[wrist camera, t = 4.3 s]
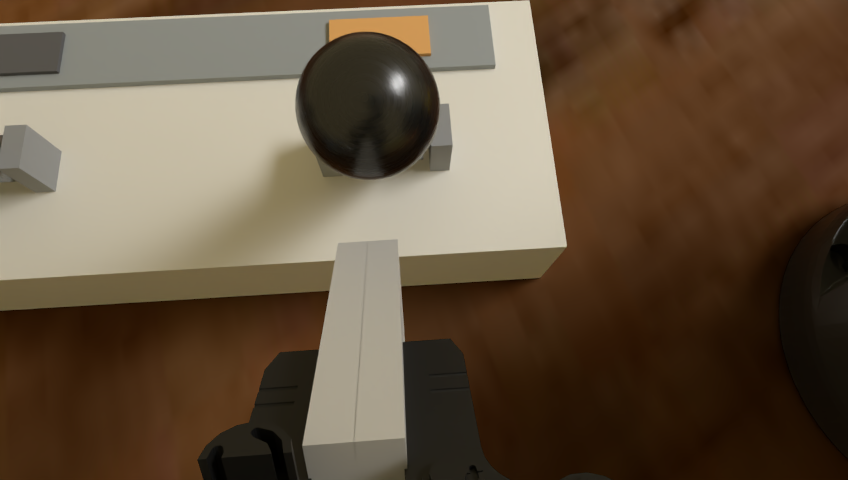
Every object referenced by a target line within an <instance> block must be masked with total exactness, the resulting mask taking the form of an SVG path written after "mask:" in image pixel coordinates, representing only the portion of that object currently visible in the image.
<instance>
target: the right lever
mask: <svg viewBox="0 0 848 480" xmlns="http://www.w3.org/2000/svg"><path fill="white" fill-rule="evenodd" d="M295 112H296V119H297V123H298V127H299V130H300V132H301V135H302V137H303V139H304V141H305V143H306V144H307V146H308V148H309V149H310V150H311V151H312V153H313V154H314V155H315V156H316V157H317V158H318V159H319V160H320V161H321V162H322V163H323V164H325V165H326V166H327V167H329V168H330V169H332V170H334V171H335V172H337V173H339V174H342V175H344V176H347V177H350V178H354V179H360V180H378V179H384V178H388V177H392V176H394V175H397V174H399V173H401V172H403V171H405V170H407V169H408V168H410V167H411V166H412V165H414V164H415V163H416V162H417V161H418V160H423V155H424V153H425V152H426V151H427V149H428V148H429V146H430V144H431V143H432V141H433V139H434V136H435V134H436V131H437V127H438V124H439V117H440V98H439V91H438V87H437V84H436V81H435V79H434V76H433V74H432V72H431V70H430V68H429V67H428V65H427V64H426V62H425V61H424V60H423V58H422V57H421V56H420V55H419V54H418V53H417V52H416V51H415V50H413V49H412V48H411V47H410V46H409V45H407V44H405V43H404V42H402V41H401V40H399V39H396V38H394V37H392V36H389V35H386V34H382V33H377V32H354V33H350V34H346V35H343V36H340V37H338V38H335V39H334V40H332V41H330V42H328V43H327V44H325V45H324V46H323V47H321V48H320V49H319V50H318V51H317V52H316V53H315V54H314V55H313V56H312V57H311V59H310V60H309V61H308V63H307V64H306V66H305V68H304V70H303V71H302V74H301V76H300V79H299V82H298V86H297V90H296V98H295Z"/></svg>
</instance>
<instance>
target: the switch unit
mask: <svg viewBox="0 0 848 480" xmlns="http://www.w3.org/2000/svg"><path fill="white" fill-rule="evenodd" d="M354 32H377V33H382V34H386V35H389V36H392V37H394V38H396V39H399V40H401V41H402V42H404V43H405V44H407V45H409V46H410V47H411V48H412V49H413V50H415V51H416V52H417V53H418V54H419V55H420V56H421V57H422V58H423V60H424V61H425V62H426V64H427V65H428V67H429V68H430V70H431V72H432V74H433V76H434V79H435V81H436V84H437V87H438V91H439V98H440V117H439V124H438V127H437V131H436V134H435V136H434V139H433V141H432V143H431V144H430V146H429V148H428V149H427V151H426V152H425V153H424V155H423V160H418V161H417V162H416V163H415V164H414V165H412V166H411V167H410V168H408V169H407V170H405V171H403V172H401V173H399V174H397V175H394V176H392V177H388V178H384V179H378V180H360V179H354V178H350V177H347V176H344V175H342V174H339V173H337V172H335V171H334V170H332V169H330V168H329V167H327V166H326V165H325V164H323V163H322V162H321V161H320V160H319V159H318V158H317V157H316V156H315V155H314V154H313V153H312V151H311V150H310V149H309V148H308V146H307V144H306V143H305V141H304V139H303V137H302V135H301V132H300V130H299V127H298V123H297V119H296V112H295V98H296V90H297V86H298V82H299V79H300V76H301V74H302V71H303V70H304V68H305V66H306V64H307V63H308V61H309V60H310V59H311V57H312V56H313V55H314V54H315V53H316V52H317V51H318V50H319V49H320V48H321V47H323V46H324V45H325V44H327V43H328V42H330V41H332V40H334V39H335V38H338V37H340V36H343V35H346V34H350V33H354ZM0 135H3V138H2V144H1V149H0V171H1V172H2V173H4V174H6V175H7V176H9V177H11V178H12V179H14V180H15V182H0V311H5V310H22V309H38V308H54V307H71V306H87V305H104V304H120V303H137V302H153V301H169V300H186V299H202V298H219V297H235V296H251V295H268V294H284V293H301V292H317V291H330V286H331V280H332V274H333V269H334V263H335V257H336V252H337V246H338V243H347V242H362V241H378V240H393V239H398V250H399V264H400V278H401V286H416V285H432V284H448V283H465V282H481V281H498V280H514V279H531V278H541V276H542V275H543V274H544V273H545V272H546V271H547V269H548V268H549V267H550V266H551V265H552V264H553V262H554V261H555V260H556V259H557V258H558V257H559V255H560V254H561V253H562V252H563V251H564V250H565V248H566V247H567V244H566V237H565V231H564V224H563V217H562V211H561V204H560V198H559V191H558V185H557V178H556V172H555V165H554V158H553V152H552V145H551V139H550V132H549V126H548V119H547V113H546V106H545V99H544V93H543V86H542V80H541V73H540V67H539V60H538V54H537V47H536V41H535V34H534V27H533V21H532V14H531V8H530V1H507V2H484V3H461V4H438V5H416V6H393V7H370V8H348V9H325V10H302V11H279V12H257V13H234V14H211V15H188V16H166V17H143V18H120V19H98V20H75V21H52V22H29V23H7V24H0Z"/></svg>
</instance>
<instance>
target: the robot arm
mask: <svg viewBox="0 0 848 480" xmlns="http://www.w3.org/2000/svg"><path fill="white" fill-rule="evenodd" d="M779 323H780V333H781V339H782V345H783V349H784V353H785V357H786V361H787V364H788V367H789V370H790V373H791V375H792V378H793V380H794V383H795V385H796V387H797V389H798V391H799V393H800V395H801V397H802V399H803V401H804V403H805V405H806V406H807V408H808V410H809V411H810V413H811V415H812V416H813V418H814V419H815V421H816V422H817V424H818V425H819V426H820V428H821V429H822V430H823V432H824V433H825V434H826V436H827V437H828V438H829V439H830V440H831V442H832V443H833V444H834V445H835V446H836V447H837V448H838V449H839V450H840V452H841V453H842V454H843V455H844V456H845V457H846V458H847V459H848V204H846V205H844V206H842V207H840V208H838V209H836V210H834V211H833V212H831V213H829V214H828V215H826V216H825V217H824V218H822V219H821V220H820V221H819V222H817V223H816V224H815V225H814V226H813V227H812V228H811V229H810V230H809V231H808V232H807V233H806V235H805V236H804V237H803V238H802V240H801V241H800V242H799V244H798V246H797V247H796V249H795V250H794V252H793V254H792V256H791V258H790V260H789V263H788V265H787V268H786V271H785V274H784V277H783V282H782V286H781V293H780V302H779ZM198 463H199V466H200V470H201V473H202V476H203V479H204V480H510V479H508V478H506V477H505V476H503V475H501V474H500V473H498V472H497V471H496V470H495V469H494V468H493V467H492V466H491V465H490V464H489V462H488V461H487V460H486V458H485V457H484V454H483V451H482V448H481V444H480V439H479V433H478V428H477V423H476V418H475V413H474V408H473V402H472V397H471V392H470V388H469V382H468V377H467V371H466V366H465V361H464V356H463V353H462V352H461V351H460V350H459V348H458V347H457V346H456V345H455V344H454V343H453V341H452V340H451V339H439V340H425V341H411V342H405V338H404V320H403V306H402V292H401V278H400V264H399V250H398V239H393V240H378V241H362V242H347V243H338V246H337V252H336V257H335V263H334V269H333V274H332V280H331V286H330V291H329V297H328V303H327V308H326V314H325V320H324V325H323V331H322V337H321V342H320V348H319V350H306V351H292V352H280V353H279V354H278V355H277V356H276V358H275V359H274V360H273V361H272V362H271V363H270V364H269V366H268V367H267V368H266V369H265V371H264V375H263V378H262V381H261V385H260V388H259V392H258V394H257V398H256V401H255V408H253V411H252V414H251V418H250V421H249V423H246V424H241V425H237V426H235V427H233V428H231V429H228V430H226V431H224V432H222V433H220V434H219V435H218V436H217V437H216V438H214V439H213V440H212V441H211V442H210V443H209V444H207V445H206V447H205V448H204V450H203V452H202V453H201V455H200V456H199V458H198ZM560 480H611V479H609V478H608V477H606V476H602V475H597V474H592V473H578V474H570V475H568V476H566V477H564V478H562V479H560Z"/></svg>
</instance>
